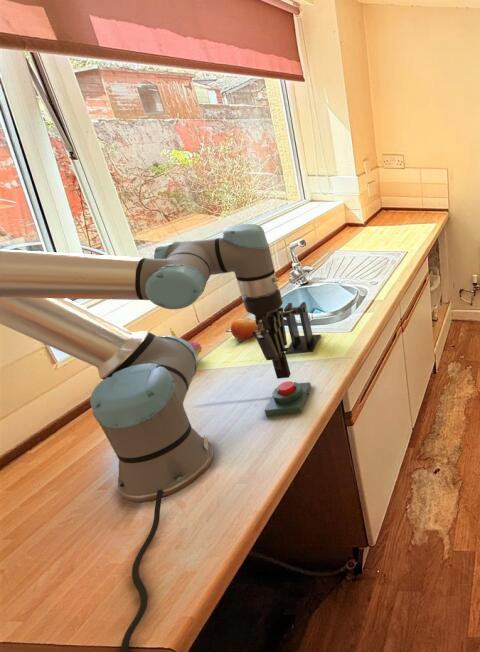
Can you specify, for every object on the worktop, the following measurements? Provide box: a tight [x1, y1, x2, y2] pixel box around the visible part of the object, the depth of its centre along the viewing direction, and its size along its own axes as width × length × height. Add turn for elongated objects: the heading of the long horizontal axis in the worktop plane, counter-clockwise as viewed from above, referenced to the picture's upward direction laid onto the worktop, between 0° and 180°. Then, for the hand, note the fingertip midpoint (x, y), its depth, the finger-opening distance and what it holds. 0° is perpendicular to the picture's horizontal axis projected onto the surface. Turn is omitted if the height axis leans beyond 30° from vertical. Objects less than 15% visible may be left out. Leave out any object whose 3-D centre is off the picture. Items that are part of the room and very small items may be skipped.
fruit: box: [230, 317, 258, 344], centre depth 132 cm, size 8×8×8 cm
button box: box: [264, 381, 312, 418], centre depth 104 cm, size 10×8×4 cm
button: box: [277, 380, 295, 395], centre depth 103 cm, size 4×4×2 cm
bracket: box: [283, 301, 322, 355], centre depth 126 cm, size 10×8×15 cm
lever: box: [283, 305, 300, 319], centre depth 118 cm, size 14×5×2 cm, turn 10°
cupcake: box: [169, 327, 203, 363], centre depth 117 cm, size 9×8×12 cm
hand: (284, 376), depth 101 cm, fingers closed
